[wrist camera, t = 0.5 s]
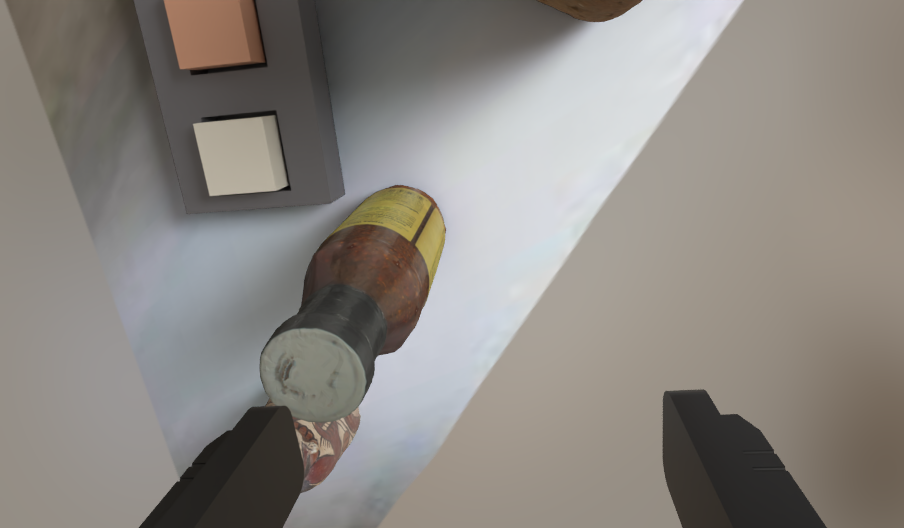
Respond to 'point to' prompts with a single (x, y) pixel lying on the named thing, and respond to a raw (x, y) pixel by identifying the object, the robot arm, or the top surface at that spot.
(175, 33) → the terracotta button
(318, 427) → the figurine
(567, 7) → the brown sandstone rock
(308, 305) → the sauce bottle
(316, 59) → the button panel
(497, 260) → the top surface
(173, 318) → the top surface
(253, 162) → the cream button
